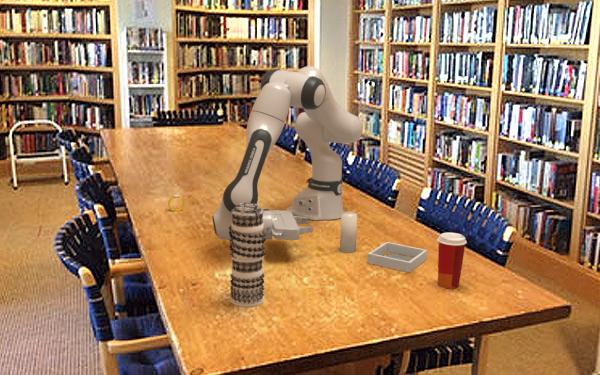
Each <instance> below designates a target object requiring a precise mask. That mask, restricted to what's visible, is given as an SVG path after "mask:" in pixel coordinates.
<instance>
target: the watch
mask: <svg viewBox="0 0 600 375" xmlns="http://www.w3.org/2000/svg"><path fill="white" fill-rule="evenodd" d="M173 199H181V200H182V204H181V207H180V208H178V209H177V208H176V209H175V208H172V207H171V205H170V204H171V201H172V200H173ZM167 205H168V207H169V209H170V211H172V212H178V211H179V212H181V211H182V210H183V209H184V207H185V200H184V198H183V197H182V196H181V194H173V195H172V196H171V197H170V198H169V200H168V204H167Z"/></svg>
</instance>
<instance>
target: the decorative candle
mask: <svg viewBox="0 0 600 375" xmlns="http://www.w3.org/2000/svg"><path fill="white" fill-rule="evenodd" d="M263 209H264V208H261V207H260V205H259V204H258V203H257V204H255V203H241V204H238V205H237V206H236V207H235V208H234V209H233V210H232V211H231V212H232V225H231V226H230V227H229V230H230V232H229V234H230V235H229V236H230V237H231V238H230V240H229V250H230V251H231V252H230V253H229V255H230V259H231V261H232V262H231V264H232V265H231V273H230V276H229V277H230V285H231V286H230V287H229V289H230V293H229V295H230V302H231V303H232V305H235V306H237V307H244V308H249V307H250V308H253V307H256V306H257V307H258V306H259V305H261V304H263V302H264V301H265V298H264V296H265V285H264V283H265V281H264V280H265V279H264V278H265V274H264V267H263V259H264V258H265V255H266V253H265V251H264V250H265V249H266V247H265V245H263V244H264V243H265V242H266V241H267V240H266V239H265V238H263V237H264V236H265V235H266V233H265V232H264V231H262V230H263V213H264V210H263ZM231 227H232V229H231ZM232 233H233V235H232Z"/></svg>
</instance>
